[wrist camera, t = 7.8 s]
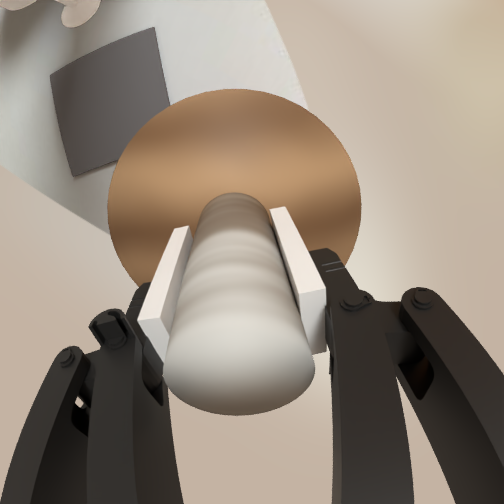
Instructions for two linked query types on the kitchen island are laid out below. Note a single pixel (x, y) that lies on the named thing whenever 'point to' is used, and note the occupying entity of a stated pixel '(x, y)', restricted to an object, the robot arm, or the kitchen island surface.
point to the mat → (108, 99)
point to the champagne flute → (74, 13)
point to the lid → (233, 237)
